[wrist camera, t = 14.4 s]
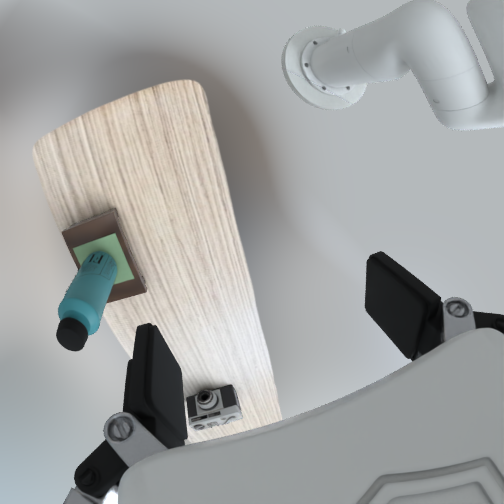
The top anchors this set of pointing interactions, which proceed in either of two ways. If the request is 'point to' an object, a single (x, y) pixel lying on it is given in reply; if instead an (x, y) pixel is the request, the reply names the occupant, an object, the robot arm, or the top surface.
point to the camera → (213, 408)
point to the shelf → (110, 241)
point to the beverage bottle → (86, 300)
